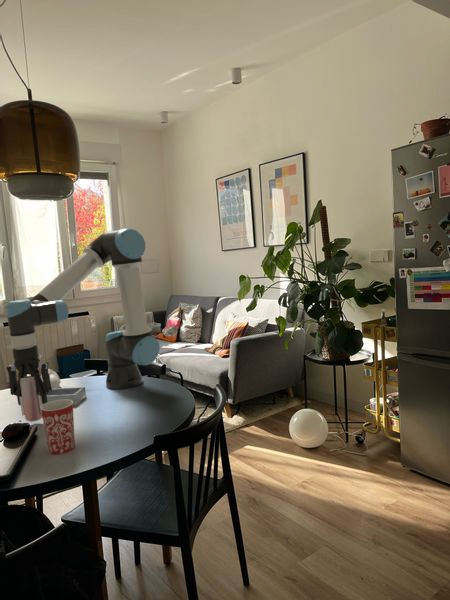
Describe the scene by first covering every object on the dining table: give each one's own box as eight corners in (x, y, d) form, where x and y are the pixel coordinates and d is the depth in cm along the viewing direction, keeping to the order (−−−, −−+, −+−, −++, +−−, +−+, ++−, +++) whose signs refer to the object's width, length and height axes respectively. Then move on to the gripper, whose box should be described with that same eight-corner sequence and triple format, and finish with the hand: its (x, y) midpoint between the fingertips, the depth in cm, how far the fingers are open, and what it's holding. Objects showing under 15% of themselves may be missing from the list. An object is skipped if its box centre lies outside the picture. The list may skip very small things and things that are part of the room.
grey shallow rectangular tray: (86, 396, 180) (85, 386, 180) (76, 405, 170) (74, 395, 170) (38, 398, 182) (36, 389, 181) (25, 407, 172) (23, 397, 171)
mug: (78, 451, 129) (73, 406, 127) (44, 458, 126) (38, 412, 125) (78, 435, 141) (73, 393, 139) (47, 441, 138) (42, 398, 137)
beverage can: (27, 416, 155) (21, 374, 154) (45, 414, 157) (39, 372, 155) (23, 423, 150) (17, 379, 148) (42, 420, 151) (36, 376, 149)
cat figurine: (52, 372, 185) (47, 361, 198) (35, 385, 182) (31, 373, 195) (66, 388, 189) (61, 376, 202) (50, 401, 186) (45, 388, 199)
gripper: (56, 342, 153) (66, 407, 156) (4, 345, 154) (14, 410, 157) (46, 347, 145) (56, 416, 148) (-9, 351, 147) (1, 419, 150)
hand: (34, 413), depth 153 cm, fingers closed on beverage can, 6 cm apart
